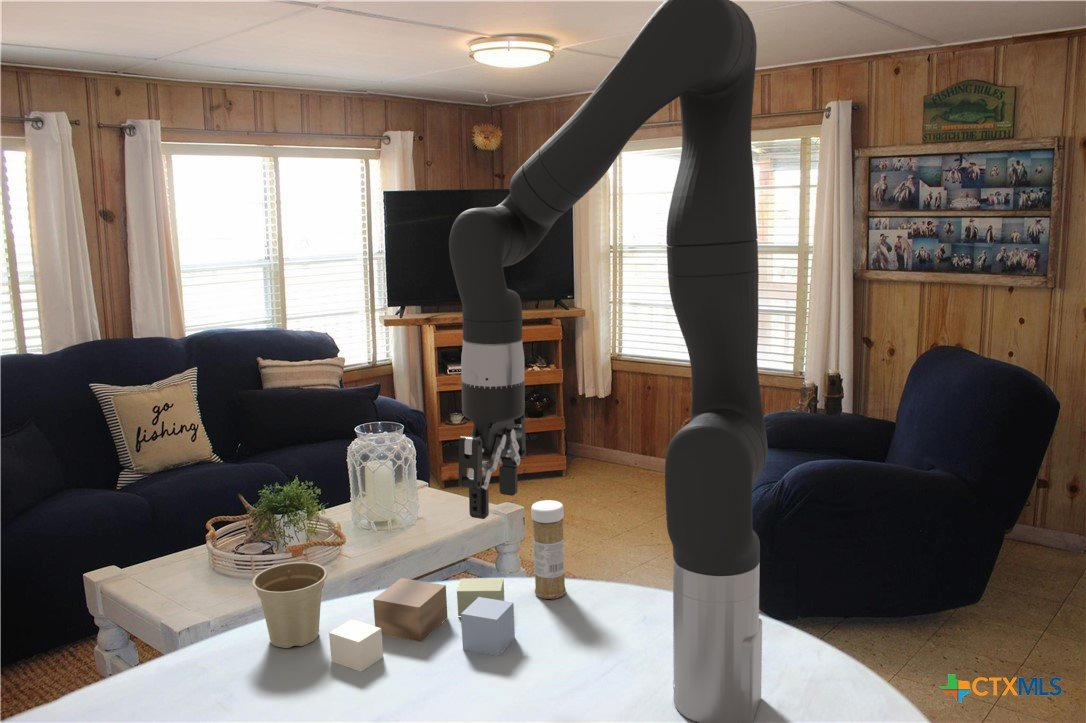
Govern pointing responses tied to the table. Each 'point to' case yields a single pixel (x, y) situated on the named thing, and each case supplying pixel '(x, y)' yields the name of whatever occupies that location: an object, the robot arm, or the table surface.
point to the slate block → (488, 626)
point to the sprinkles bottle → (548, 549)
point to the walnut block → (410, 609)
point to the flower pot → (291, 601)
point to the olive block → (478, 591)
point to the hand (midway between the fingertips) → (494, 505)
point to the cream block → (356, 645)
